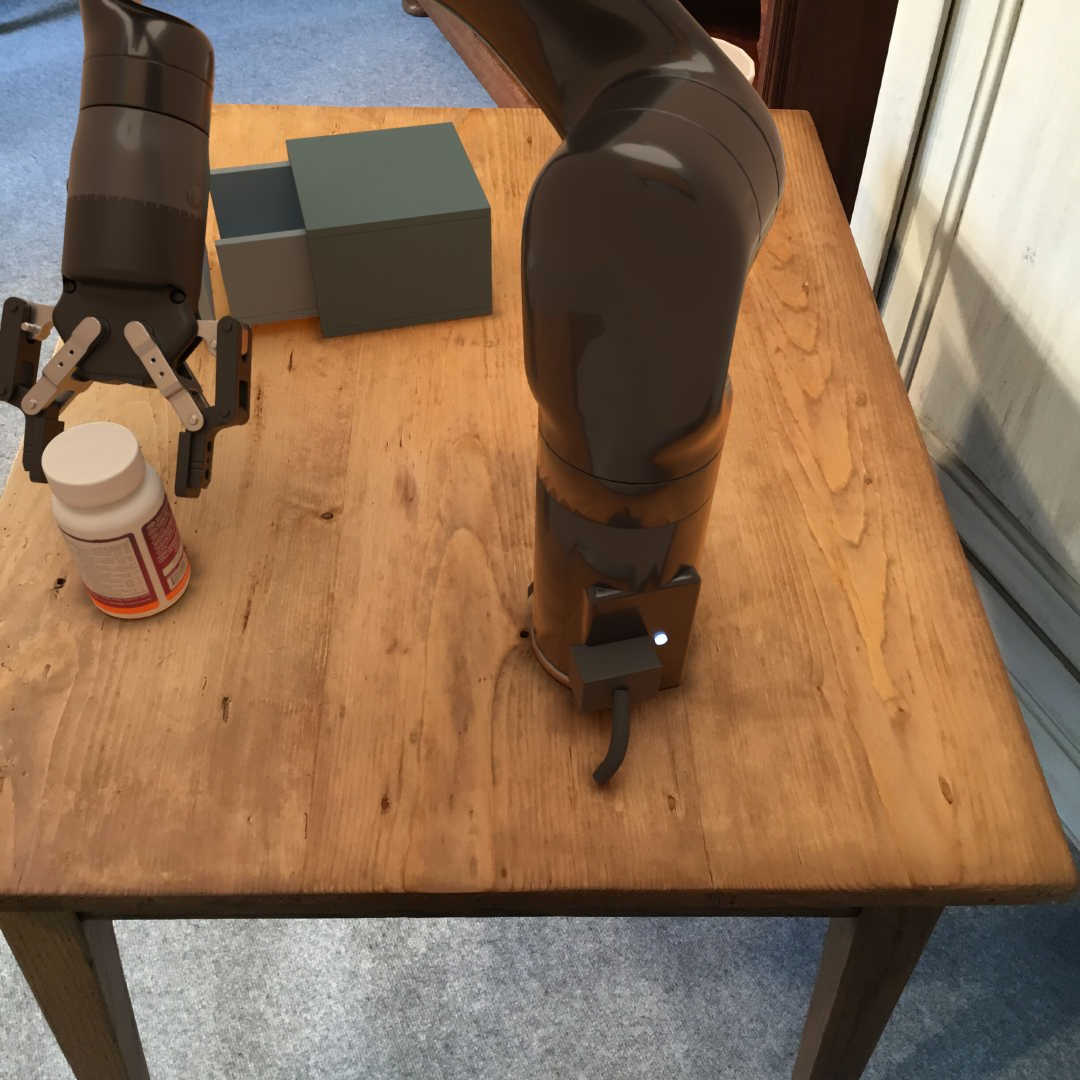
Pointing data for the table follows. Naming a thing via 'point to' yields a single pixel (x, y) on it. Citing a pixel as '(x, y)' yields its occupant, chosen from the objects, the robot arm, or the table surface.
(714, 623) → the table surface
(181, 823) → the table surface
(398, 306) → the cabinet
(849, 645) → the table surface
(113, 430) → the pill bottle
